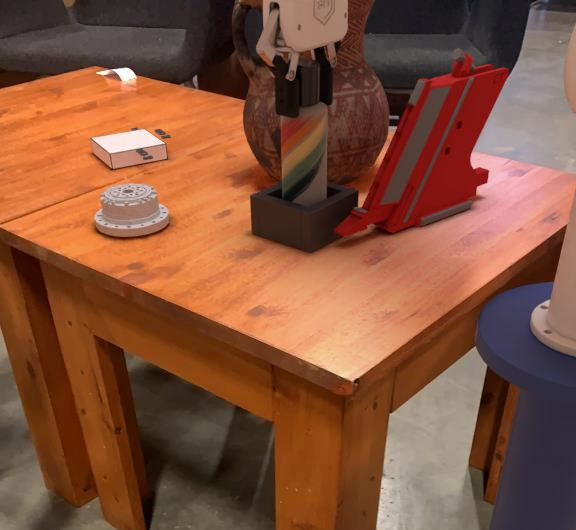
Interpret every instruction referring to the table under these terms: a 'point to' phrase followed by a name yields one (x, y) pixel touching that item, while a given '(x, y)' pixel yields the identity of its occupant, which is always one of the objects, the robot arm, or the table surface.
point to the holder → (301, 216)
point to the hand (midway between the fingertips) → (304, 108)
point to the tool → (432, 151)
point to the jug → (341, 114)
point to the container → (130, 148)
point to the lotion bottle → (305, 141)
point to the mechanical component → (130, 211)
